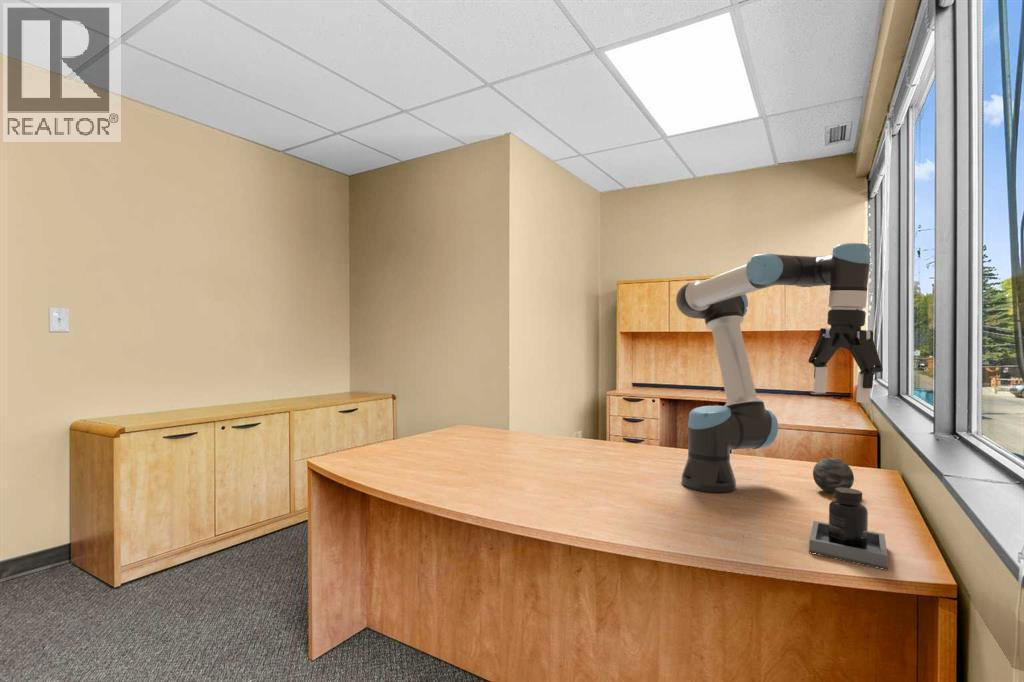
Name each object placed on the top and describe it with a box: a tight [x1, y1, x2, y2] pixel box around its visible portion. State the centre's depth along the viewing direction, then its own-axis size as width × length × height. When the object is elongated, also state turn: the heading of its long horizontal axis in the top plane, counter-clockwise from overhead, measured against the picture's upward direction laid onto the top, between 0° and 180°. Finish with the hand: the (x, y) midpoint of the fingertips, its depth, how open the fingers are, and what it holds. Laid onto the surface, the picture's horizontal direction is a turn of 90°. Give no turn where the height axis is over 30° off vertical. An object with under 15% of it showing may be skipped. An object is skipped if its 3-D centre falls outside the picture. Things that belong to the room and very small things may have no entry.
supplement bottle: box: [828, 487, 869, 550], centre depth 106 cm, size 7×7×12 cm
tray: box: [808, 520, 889, 570], centre depth 106 cm, size 13×13×3 cm
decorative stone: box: [812, 457, 855, 494], centre depth 144 cm, size 10×10×10 cm
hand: (840, 397), depth 121 cm, fingers open, 13 cm apart
